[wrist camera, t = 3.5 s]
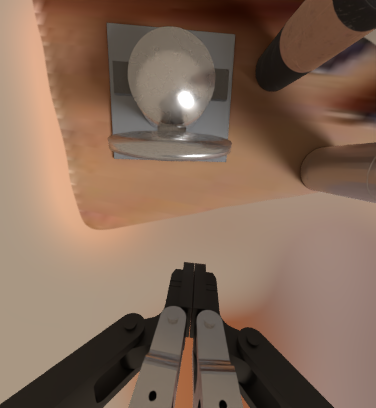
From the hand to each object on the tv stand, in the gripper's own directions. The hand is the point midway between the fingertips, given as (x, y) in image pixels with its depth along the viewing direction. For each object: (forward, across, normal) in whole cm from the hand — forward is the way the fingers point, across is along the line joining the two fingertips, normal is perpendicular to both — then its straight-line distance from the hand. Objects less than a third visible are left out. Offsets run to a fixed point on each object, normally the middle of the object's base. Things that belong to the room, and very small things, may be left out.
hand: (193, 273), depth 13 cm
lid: (+12, +4, -9) cm, 15 cm away
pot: (+28, +6, -14) cm, 32 cm away
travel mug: (+33, -12, -21) cm, 41 cm away
